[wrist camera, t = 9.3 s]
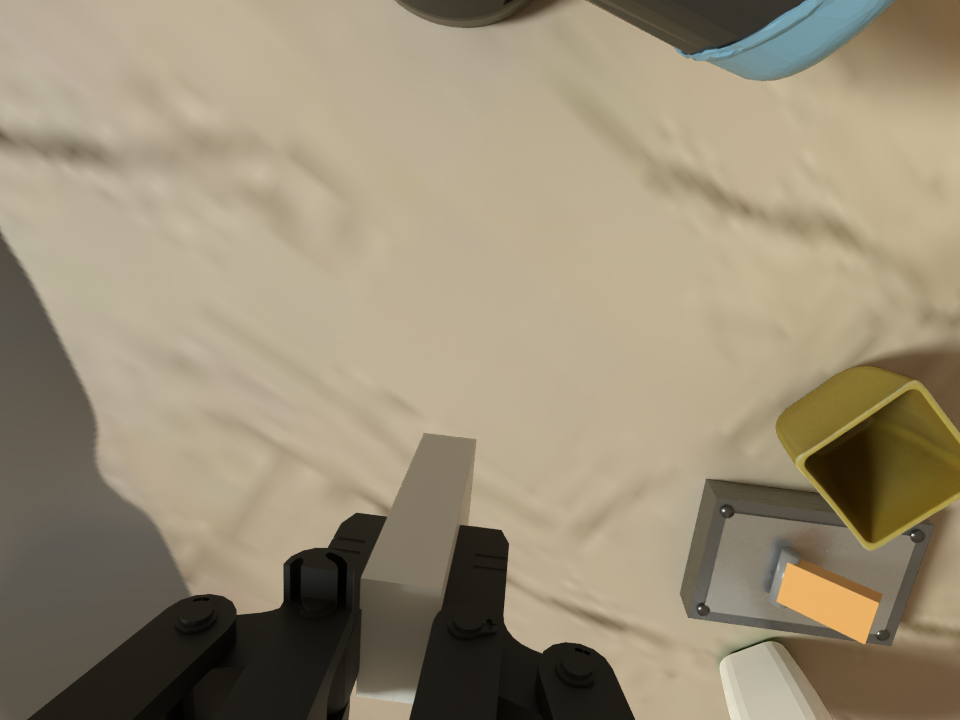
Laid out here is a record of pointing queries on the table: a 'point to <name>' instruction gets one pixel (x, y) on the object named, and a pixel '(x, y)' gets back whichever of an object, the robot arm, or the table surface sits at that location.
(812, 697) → the cup
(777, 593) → the paddle
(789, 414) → the flower pot
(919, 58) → the table surface
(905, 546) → the panel
